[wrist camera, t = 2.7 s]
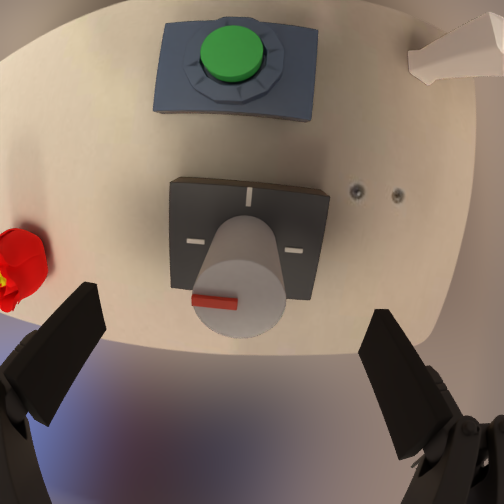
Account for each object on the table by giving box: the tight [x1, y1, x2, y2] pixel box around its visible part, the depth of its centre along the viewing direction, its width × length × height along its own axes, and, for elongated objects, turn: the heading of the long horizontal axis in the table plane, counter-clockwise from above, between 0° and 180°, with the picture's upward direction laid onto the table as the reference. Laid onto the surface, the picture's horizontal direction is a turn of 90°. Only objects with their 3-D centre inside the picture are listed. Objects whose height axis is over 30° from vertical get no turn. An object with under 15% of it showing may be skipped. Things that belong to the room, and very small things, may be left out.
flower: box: [0, 228, 48, 312], centre depth 21 cm, size 8×8×8 cm
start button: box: [200, 25, 263, 82], centre depth 14 cm, size 4×4×2 cm
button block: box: [153, 17, 318, 122], centre depth 17 cm, size 12×8×4 cm, turn 85°
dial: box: [191, 215, 286, 338], centre depth 17 cm, size 5×5×8 cm
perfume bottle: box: [408, 11, 504, 86], centre depth 10 cm, size 5×4×15 cm
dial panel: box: [169, 177, 330, 300], centre depth 22 cm, size 12×9×3 cm
